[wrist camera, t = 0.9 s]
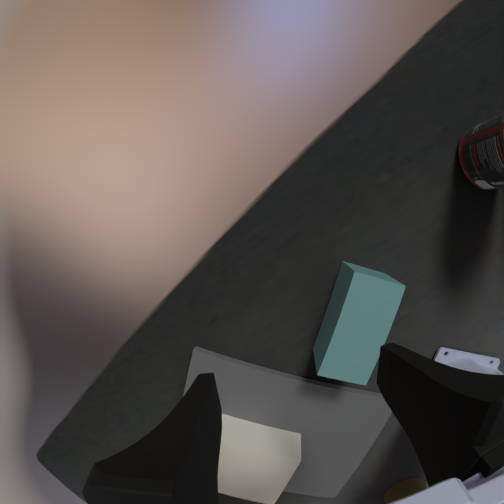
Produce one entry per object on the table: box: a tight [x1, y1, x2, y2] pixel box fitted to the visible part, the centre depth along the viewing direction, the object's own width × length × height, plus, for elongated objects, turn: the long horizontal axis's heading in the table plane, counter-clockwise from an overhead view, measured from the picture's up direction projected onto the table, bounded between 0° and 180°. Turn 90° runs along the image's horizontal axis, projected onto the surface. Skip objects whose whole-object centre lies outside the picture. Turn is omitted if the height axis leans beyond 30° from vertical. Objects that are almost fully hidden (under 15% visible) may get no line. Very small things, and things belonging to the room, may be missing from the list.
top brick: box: [313, 261, 406, 385], centre depth 22 cm, size 4×8×5 cm, turn 164°
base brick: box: [218, 414, 301, 504], centre depth 25 cm, size 8×8×4 cm
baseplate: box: [183, 346, 392, 498], centre depth 27 cm, size 20×16×1 cm
